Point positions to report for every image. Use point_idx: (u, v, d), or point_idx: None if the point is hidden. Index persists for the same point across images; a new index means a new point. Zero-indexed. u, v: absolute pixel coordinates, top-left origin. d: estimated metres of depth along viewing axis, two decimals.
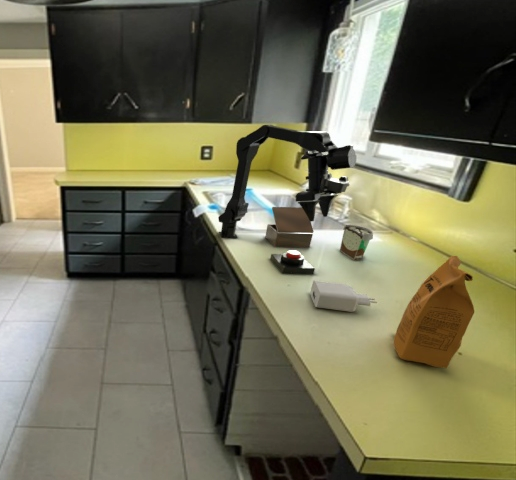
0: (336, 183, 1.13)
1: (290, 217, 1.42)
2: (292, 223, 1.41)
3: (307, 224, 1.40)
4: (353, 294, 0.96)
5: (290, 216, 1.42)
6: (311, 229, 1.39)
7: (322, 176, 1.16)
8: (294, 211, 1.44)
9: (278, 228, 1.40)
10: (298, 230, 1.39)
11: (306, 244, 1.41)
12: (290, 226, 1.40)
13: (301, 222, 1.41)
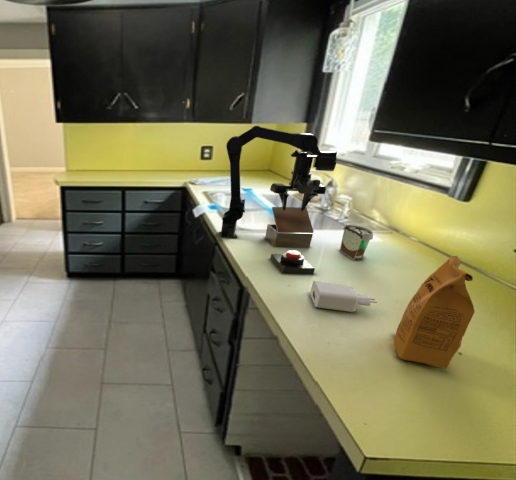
0: (300, 184, 1.31)
1: (290, 217, 1.42)
2: (292, 223, 1.41)
3: (307, 224, 1.40)
4: (353, 294, 0.96)
5: (290, 216, 1.42)
6: (311, 229, 1.39)
7: (297, 175, 1.33)
8: (294, 211, 1.44)
9: (278, 228, 1.40)
10: (298, 230, 1.39)
11: (306, 244, 1.41)
12: (290, 226, 1.40)
13: (301, 222, 1.41)
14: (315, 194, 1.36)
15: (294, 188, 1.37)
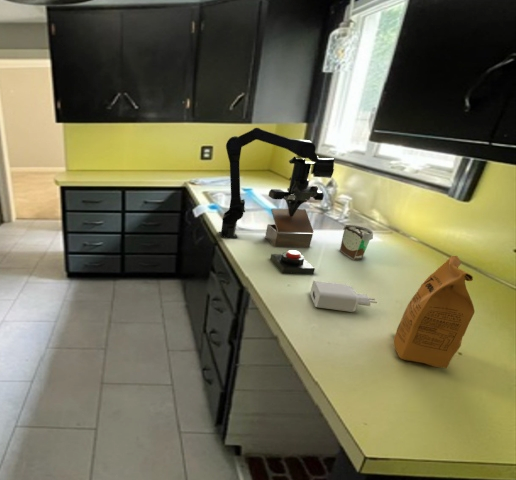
0: (298, 190, 1.32)
1: (289, 218, 1.43)
2: (292, 224, 1.41)
3: (307, 224, 1.40)
4: (353, 294, 0.96)
5: (289, 217, 1.43)
6: (311, 229, 1.39)
7: (295, 181, 1.35)
8: None
9: (278, 228, 1.40)
10: (298, 230, 1.39)
11: (306, 244, 1.41)
12: (290, 227, 1.40)
13: (300, 222, 1.41)
14: (304, 200, 1.38)
15: None
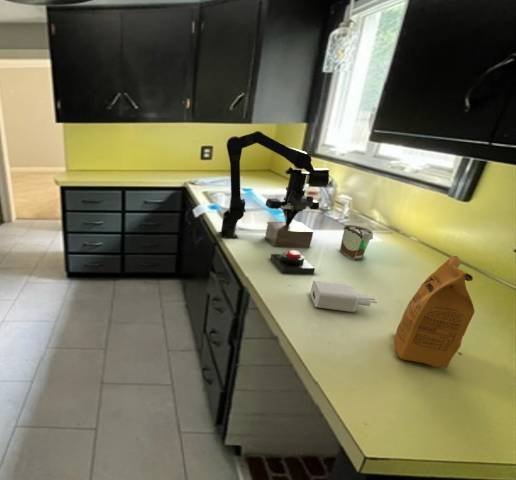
0: (294, 200, 1.35)
1: (286, 225, 1.45)
2: (290, 228, 1.42)
3: (305, 228, 1.42)
4: (353, 294, 0.96)
5: (286, 225, 1.46)
6: (310, 230, 1.40)
7: (291, 191, 1.38)
8: None
9: (277, 229, 1.40)
10: (297, 230, 1.39)
11: (306, 244, 1.41)
12: (289, 229, 1.41)
13: (298, 227, 1.43)
14: (300, 209, 1.41)
15: None
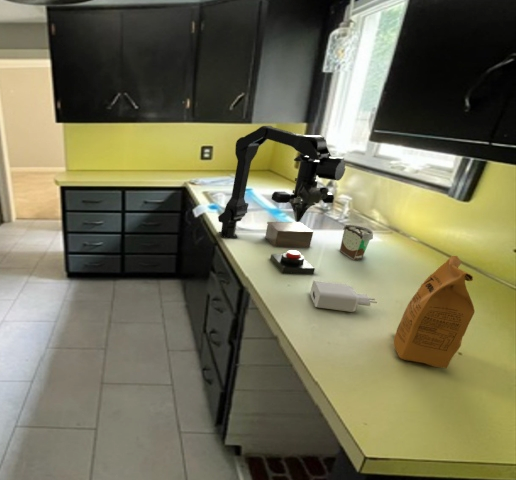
0: (305, 192, 1.16)
1: (286, 225, 1.45)
2: (290, 228, 1.42)
3: (305, 228, 1.42)
4: (353, 294, 0.96)
5: (286, 225, 1.46)
6: (310, 230, 1.40)
7: (301, 182, 1.19)
8: (289, 223, 1.48)
9: (277, 229, 1.40)
10: (297, 230, 1.39)
11: (306, 244, 1.41)
12: (289, 229, 1.41)
13: (298, 227, 1.43)
14: (312, 203, 1.22)
15: None
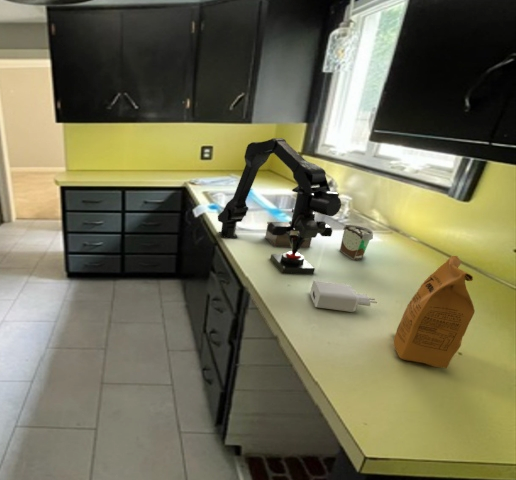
0: (302, 226, 1.12)
1: (286, 225, 1.45)
2: None
3: None
4: (353, 294, 0.96)
5: (286, 225, 1.46)
6: None
7: (298, 214, 1.14)
8: None
9: None
10: None
11: (306, 244, 1.41)
12: None
13: None
14: None
15: None
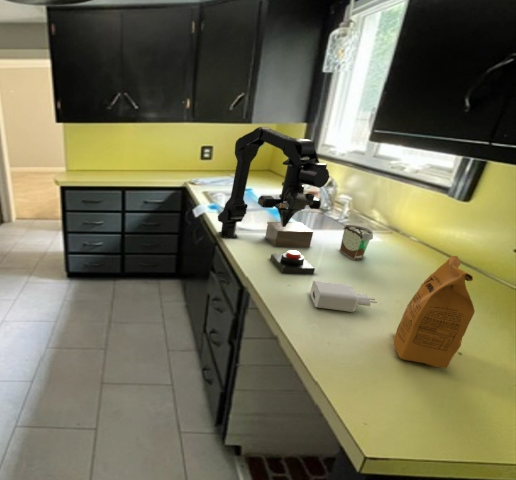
0: (291, 198, 1.14)
1: (286, 225, 1.45)
2: (290, 228, 1.42)
3: (305, 228, 1.42)
4: (353, 294, 0.96)
5: (286, 225, 1.46)
6: (310, 230, 1.40)
7: (288, 187, 1.16)
8: (289, 223, 1.48)
9: (277, 229, 1.40)
10: (297, 230, 1.39)
11: (306, 244, 1.41)
12: (289, 229, 1.41)
13: (298, 227, 1.43)
14: (298, 209, 1.19)
15: None
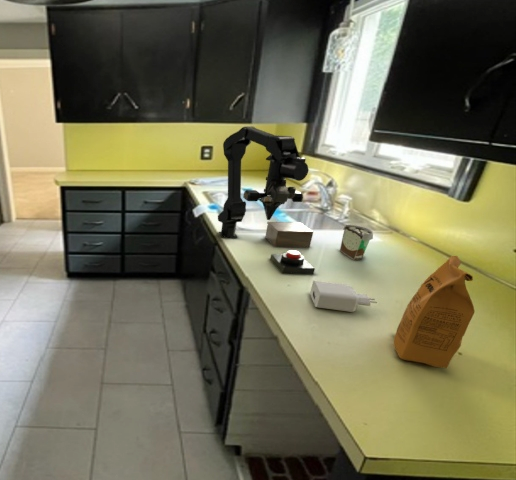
0: (273, 191, 1.19)
1: (286, 225, 1.45)
2: (290, 228, 1.42)
3: (305, 228, 1.42)
4: (353, 294, 0.96)
5: (286, 225, 1.46)
6: (310, 230, 1.40)
7: (271, 181, 1.22)
8: (289, 223, 1.48)
9: (277, 229, 1.40)
10: (297, 230, 1.39)
11: (306, 244, 1.41)
12: (289, 229, 1.41)
13: (298, 227, 1.43)
14: (282, 202, 1.25)
15: None
